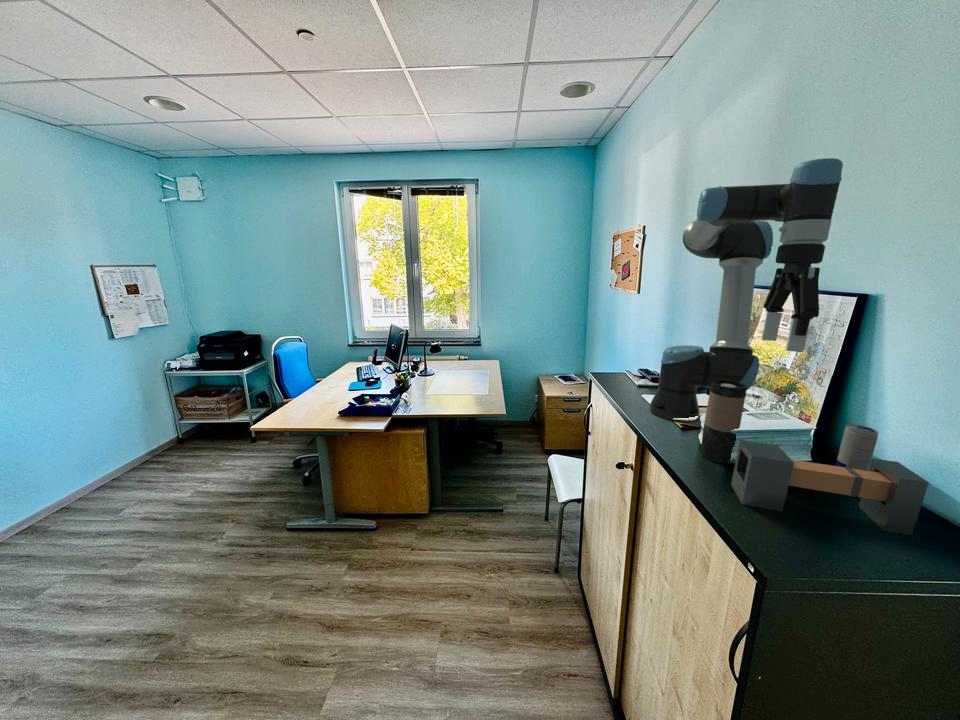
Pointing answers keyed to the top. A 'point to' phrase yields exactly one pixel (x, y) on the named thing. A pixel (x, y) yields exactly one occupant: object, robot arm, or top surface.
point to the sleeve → (761, 475)
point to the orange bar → (840, 480)
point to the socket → (896, 498)
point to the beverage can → (857, 447)
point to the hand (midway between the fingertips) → (780, 345)
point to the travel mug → (722, 420)
